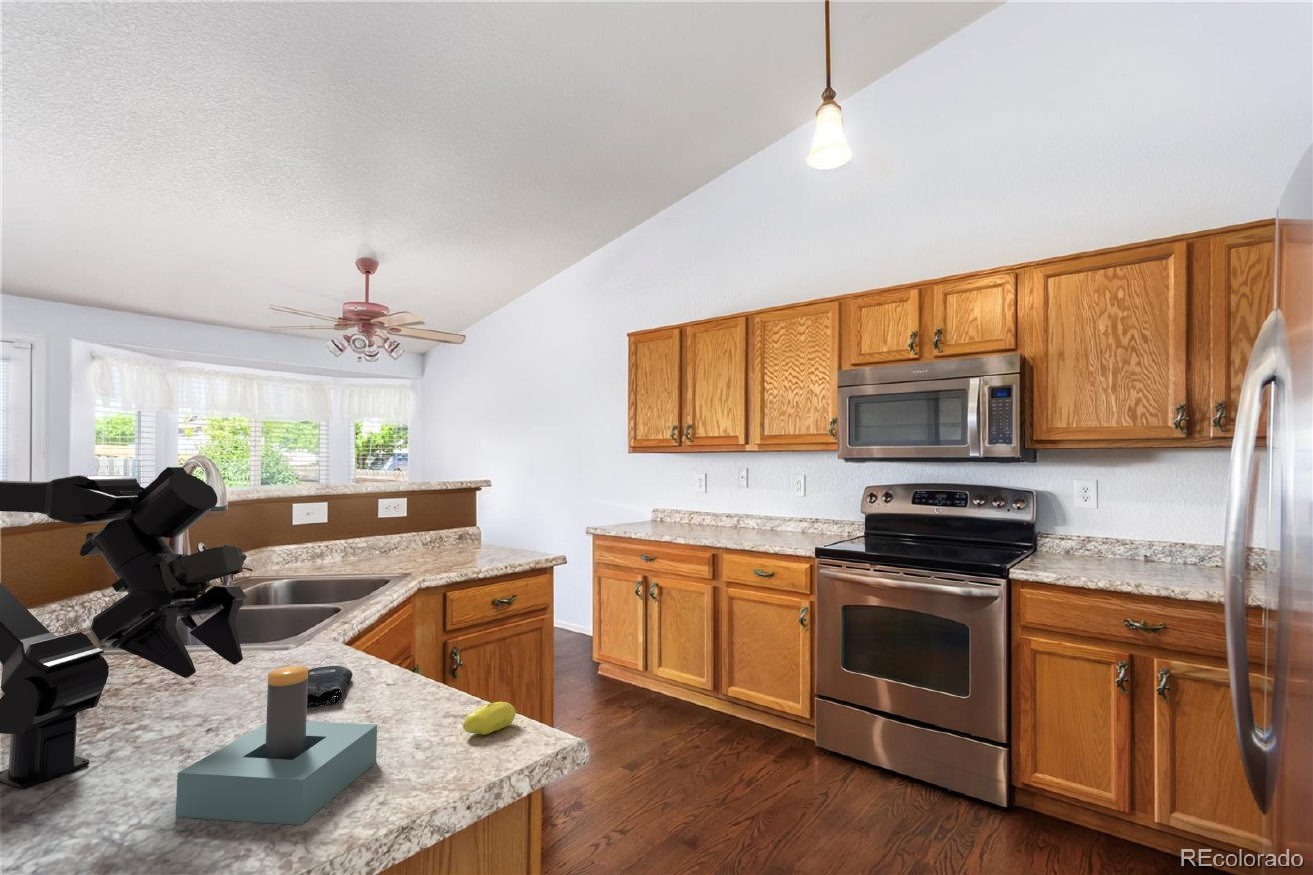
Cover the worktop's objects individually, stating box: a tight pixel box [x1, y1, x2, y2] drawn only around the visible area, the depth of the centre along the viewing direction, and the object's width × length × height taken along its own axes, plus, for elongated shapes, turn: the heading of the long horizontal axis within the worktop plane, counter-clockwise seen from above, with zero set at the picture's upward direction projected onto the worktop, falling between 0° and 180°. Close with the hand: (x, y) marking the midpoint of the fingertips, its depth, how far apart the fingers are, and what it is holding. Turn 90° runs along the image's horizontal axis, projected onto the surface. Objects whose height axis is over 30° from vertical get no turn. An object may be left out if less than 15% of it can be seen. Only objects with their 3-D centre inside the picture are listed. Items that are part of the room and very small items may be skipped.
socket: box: [175, 720, 378, 826], centre depth 71 cm, size 14×14×4 cm
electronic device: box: [307, 665, 353, 710], centre depth 101 cm, size 9×6×15 cm
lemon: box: [462, 701, 516, 736], centre depth 87 cm, size 4×8×4 cm, turn 132°
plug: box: [265, 665, 309, 760], centre depth 72 cm, size 4×4×13 cm
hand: (216, 668), depth 73 cm, fingers open, 9 cm apart
